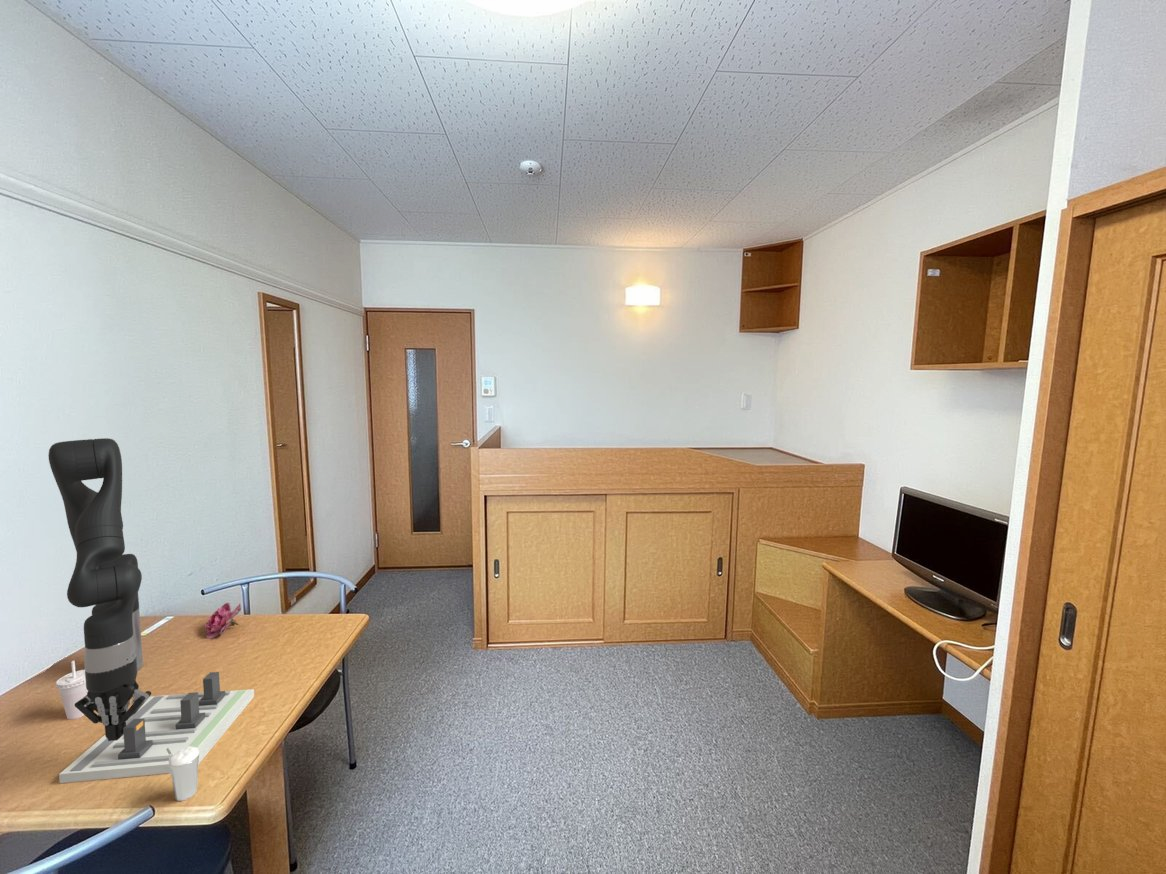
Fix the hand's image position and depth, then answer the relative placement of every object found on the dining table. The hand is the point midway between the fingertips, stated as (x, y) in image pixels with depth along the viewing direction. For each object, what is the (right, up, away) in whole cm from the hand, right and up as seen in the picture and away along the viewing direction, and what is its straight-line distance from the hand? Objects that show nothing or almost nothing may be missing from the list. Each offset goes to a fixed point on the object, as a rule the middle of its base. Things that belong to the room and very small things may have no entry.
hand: (116, 737), depth 97 cm
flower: (-20, -1, +54) cm, 57 cm away
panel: (+3, -5, +9) cm, 11 cm away
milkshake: (+20, -8, -6) cm, 22 cm away
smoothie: (-25, -4, +15) cm, 29 cm away
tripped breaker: (+3, -4, +1) cm, 5 cm away
